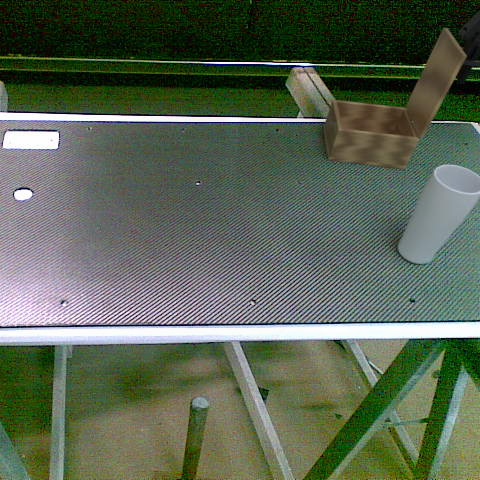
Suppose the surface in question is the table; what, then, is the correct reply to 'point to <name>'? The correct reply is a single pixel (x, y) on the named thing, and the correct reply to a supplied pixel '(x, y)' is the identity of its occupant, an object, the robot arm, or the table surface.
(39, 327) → the table surface
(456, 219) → the drinking glass
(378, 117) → the chest
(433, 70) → the chest lid
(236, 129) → the table surface
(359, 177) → the table surface
